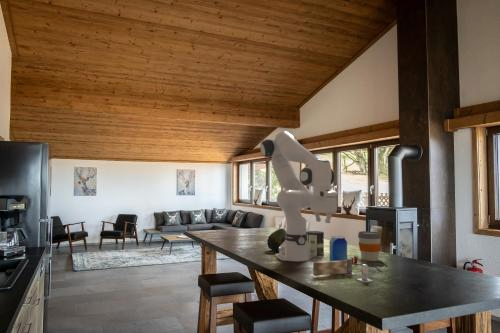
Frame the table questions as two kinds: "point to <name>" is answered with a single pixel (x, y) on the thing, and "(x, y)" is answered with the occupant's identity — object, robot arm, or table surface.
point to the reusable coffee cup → (369, 245)
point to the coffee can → (315, 243)
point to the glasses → (363, 260)
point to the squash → (276, 239)
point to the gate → (332, 267)
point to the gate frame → (364, 274)
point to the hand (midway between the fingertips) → (323, 222)
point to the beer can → (338, 248)
